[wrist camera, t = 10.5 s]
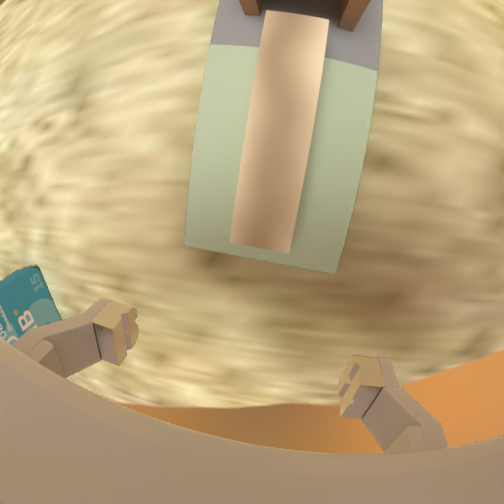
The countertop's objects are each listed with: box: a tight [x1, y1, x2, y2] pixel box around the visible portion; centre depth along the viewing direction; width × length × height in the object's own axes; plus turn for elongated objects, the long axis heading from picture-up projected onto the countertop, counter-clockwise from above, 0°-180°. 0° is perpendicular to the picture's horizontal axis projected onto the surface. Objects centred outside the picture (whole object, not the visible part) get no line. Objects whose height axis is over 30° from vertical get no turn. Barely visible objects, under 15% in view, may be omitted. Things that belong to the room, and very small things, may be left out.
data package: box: [0, 267, 62, 345], centre depth 27 cm, size 12×4×12 cm, turn 11°
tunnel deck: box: [184, 0, 383, 274], centre depth 15 cm, size 13×35×9 cm, turn 171°
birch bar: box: [230, 10, 329, 254], centre depth 18 cm, size 4×16×4 cm, turn 172°
